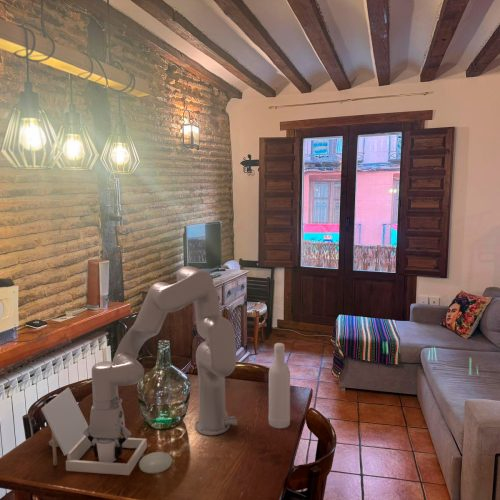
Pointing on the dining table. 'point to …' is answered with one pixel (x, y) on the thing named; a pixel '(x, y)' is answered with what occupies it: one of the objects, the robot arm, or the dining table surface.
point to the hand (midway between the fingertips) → (108, 455)
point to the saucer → (155, 462)
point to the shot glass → (106, 449)
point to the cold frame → (82, 438)
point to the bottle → (279, 390)
